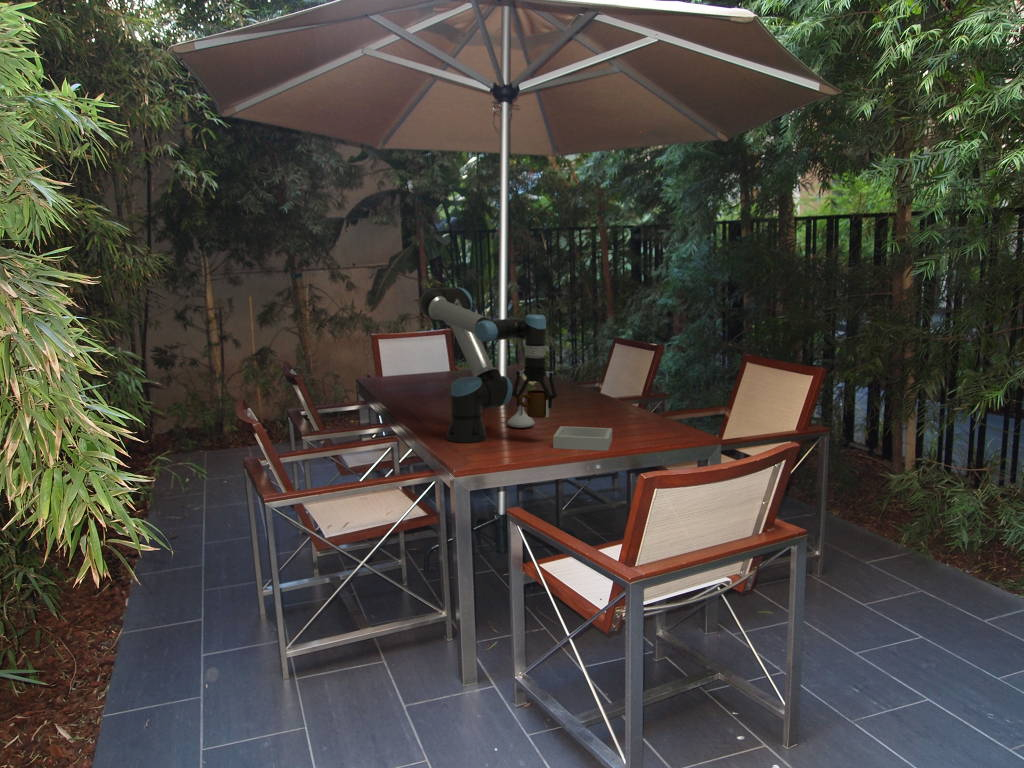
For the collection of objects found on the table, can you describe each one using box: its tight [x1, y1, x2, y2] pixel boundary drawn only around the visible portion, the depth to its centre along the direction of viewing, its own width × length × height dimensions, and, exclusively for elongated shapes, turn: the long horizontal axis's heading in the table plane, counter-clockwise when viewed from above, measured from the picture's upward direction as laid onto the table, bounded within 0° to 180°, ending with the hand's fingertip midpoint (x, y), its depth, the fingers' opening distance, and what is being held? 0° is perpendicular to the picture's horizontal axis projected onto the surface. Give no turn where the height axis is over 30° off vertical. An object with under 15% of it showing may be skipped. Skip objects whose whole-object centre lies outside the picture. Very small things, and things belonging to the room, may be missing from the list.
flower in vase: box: [507, 373, 538, 429], centre depth 330 cm, size 13×11×25 cm
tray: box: [552, 425, 613, 452], centre depth 300 cm, size 20×18×4 cm
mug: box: [518, 389, 548, 419], centre depth 301 cm, size 12×8×9 cm, turn 118°
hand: (534, 415), depth 301 cm, fingers closed on mug, 9 cm apart
